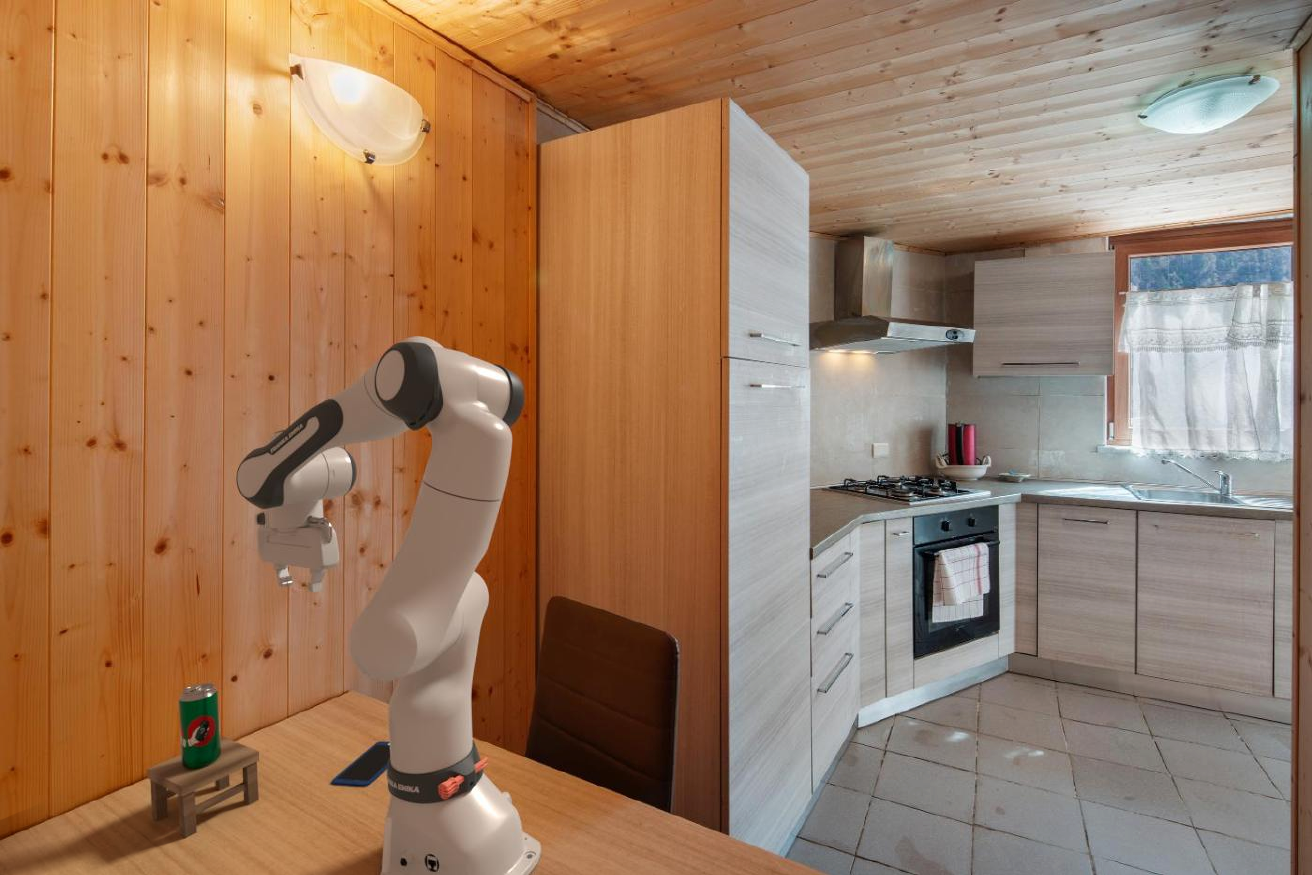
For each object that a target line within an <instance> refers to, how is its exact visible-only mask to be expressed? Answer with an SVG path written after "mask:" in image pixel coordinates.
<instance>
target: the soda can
mask: <svg viewBox="0 0 1312 875" xmlns="http://www.w3.org/2000/svg"><path fill="white" fill-rule="evenodd" d="M215 686H216V685H215V684H214V683H213V682H208V683H207V682H203V683H199V684H198V683H197V684H194V685H191V686H188V687H186V688H184V689H182V690H181V692H180V697H179V698H178V716H179V718H178V719H179V731H180V732H179V735H180V752H181V754H180V755H182V766H183V767H185V768H186V769H199V768H203V767H206V766H208V765H210V764H212V763H214V762H215V761H216V760H217V759H218V758H219V757H220V755H221V742H220V738H221V729H220V728H221V726H220V709H219V706H220V704H219V690H218V689H217V688H216V687H215Z"/></svg>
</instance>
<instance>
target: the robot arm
mask: <svg viewBox="0 0 1312 875" xmlns="http://www.w3.org/2000/svg"><path fill="white" fill-rule="evenodd" d="M524 388H525V387H524V385H523V383H522V380H521V378H520V377H519V376H518V375H517V374H516V373H514V372H513V371H512V370H510V369H508V368H506V367H504V366H503V365H501V364H496V363H495V364H493V363H490V362H488V361H485V360H483V359H481V358H477V357H476V356H475V357H474V356H471V355H469V354H467V353H465V352H463V351H460V350H455V349H450V348H446V347H444V346H443V345H442V344H440V343H439V342H438V341H436V340H435V339H431V338H429V337H426V336H419V335H417V336H416V335H415V336H411V337H408V338H405V339H403V340H402V341H400V342H397V343H393V345H392V344H391V346H389V348H388V349H387V350H386V351H385V352H384V353H383V354H382V355H381V357H379V358H378V359H377V360H376V361H375V362H374V363H373V364H372V365H371V366H370V367H369V368H368V370H366V372H365V373H364V374H363V375H361V376H360V377H359V378H358V379H357V380H356V381H354V382H352V383H351V384H350V385H349V386H347V387H346V388H344V389H343V390H342V391H340V392H338V393H336V394H334V395H333V396H331V397H330V398H327V399H326V400H324V401H321V402H320V403H318V404H316V405H315V406H313V407H311V408H309V409H308V410H307V411H306V412H305V413H303V414H302V415H301V416H300V417H298V419H296V420H295V421H294V422H293V423H291V424H290V425H289V426H288V427H286V428H285V429H282V430H278V431H276V432H274V433H272V434H271V435H270V437H269V439H268V444H266V445H265V446H261V447H258V448H255V449H253V450H252V451H250V452H249V453H248V454H247V455H246V456H245V457H244V458H243V459H242V461H241V462H240V464H239V466H238V467H237V471H236V478H235V481H236V487H237V491H238V492H239V494H240V495H241V497H243V498H244V499H245V500H246V501H247V502H249V503H251V504H252V505H253V506H255V507H257V508H258V509H261V510H262V511H259V512H257V513H256V514H255V515H254V523H255V525H256V526H258V528H257V530H256V539H257V549H258V555H259V557H260V559H261V562H263V563H268V564H273V570H274V572H275V575H276V577H277V580H278V583H277V584H278V586H279V587H283V588H287V587H291V586H292V585H293V577H292V575H290V572H289V569H288V568H289V567H290V566H291V567H297V568H303V569H309V573H310V575H311V577H310V581H308V582H307V590H308V592H310V593H317V592H318V593H319V592H321V591H322V589H323V580H324V576H325V574H326V570H327V569H333V568H336V567H337V566H338V565H339V563H340V550H339V543H338V537H337V533H336V530H335V529H334V527H333V524H331V523H330V522H329V519H328V518H327V517H324V504H323V503H324V502H323V500H331V499H336V498H340V497H342V496H346V495H348V494H349V492H350V491H351V490H352V489H353V487H354V485H355V483H356V480H357V475H358V474H357V473H358V472H357V471H358V470H357V464H356V461H355V459H354V457H353V456H352V455H351V453H350V452H349V451H348V450H346V449H345V448H344V447H342V446H346V445H352V444H359V443H361V444H362V443H368V442H375V441H378V442H379V441H384V440H388V439H389V440H390V439H393V438H396V437H398V436H401V435H403V434H404V433H405V432H408V431H409V430H411V431H419V430H420V429H422V428H423V427H425V426H426V428H427V429H428V431H429V433H430V436H431V440H432V443H431V444H432V445H431V451H430V453H429V454H430V455H429V458H428V460H427V464H426V467H425V471H424V473H423V477H422V480H421V484H420V487H419V491H418V494H417V498H416V502H415V504H414V507H413V511H412V515H411V518H410V522H409V525H408V528H407V531H406V533H405V536H404V537H403V540H402V542H401V545H400V546H399V549H398V550H397V552H396V554H395V555H394V558H393V560H392V561H391V564H390V566H389V567H388V569H387V571H386V572H385V575H384V577H383V578H382V580H381V582H380V584H379V586H378V589H377V590H376V592H375V594H374V595H373V597H372V599H371V600H370V601H369V603H368V604H367V606H365V607H364V609H363V610H362V612H361V613H360V614H359V615H358V616H357V617H356V619H355V620H354V621H353V623H352V625H351V628H350V630H349V632H348V633H349V634H348V640H347V642H348V645H347V646H348V651H349V654H350V657H351V660H352V662H353V663H354V666H356V668H357V669H358V670H359V671H360V672H361V673H362V674H364V676H367V677H368V678H370V679H372V680H375V681H378V682H392V681H396V680H397V684H396V687H395V688H394V690H393V693H392V694H391V697H390V700H389V703H388V710H387V711H388V712H387V713H388V734H389V735H388V736H389V740H388V741H389V742H390V757H389V759H388V763H387V770H386V780H387V790H388V792H389V793H390V797H389V798H390V799H389V802H388V809H387V812H386V816H385V821H384V830H383V843H382V844H383V845H382V859H381V871H380V874H379V875H530V874H531V873H532V871H533V870H534V869H535V867H536V866H537V864H538V862H539V859H540V857H541V854H542V847H541V842H540V841H539V840H537V839H535V838H534V837H532V836H530V834H528V833H526V832H525V831H523V826H522V821H521V818H520V813H519V812H518V809H517V808H516V807H515V806H514V805H513V799H512V797H511V794H510V793H509V792H508V791H502V792H501V790H500V789H498V787H497V786H496V785H495V784H494V783H493V782H492V781H491V780H490V779H489V777H488V776H487V775H486V774H485V773H484V768H485V767H487V766H488V765H489V763H488V762H486V761H487V760H488V759H489V758H488V757H487V756H486V757H484V758H482V759H481V757H480V753H479V749H478V748H477V746H476V742H475V741H474V739H473V717H472V716H473V715H472V714H473V713H472V711H473V710H472V689H473V678H474V671H475V665H476V658H477V654H478V645H479V640H480V633H481V628H482V623H483V620H484V617H485V614H486V612H487V610H488V607H489V601H490V595H489V589H488V586H487V584H486V582H485V580H484V579H483V577H481V575H480V574H479V573H477V572H476V569H477V567H478V566H479V564H480V562H481V561H482V559H483V558H484V556H485V555H486V554H487V551H488V549H489V546H490V543H491V539H492V535H493V532H494V529H495V525H496V522H497V518H498V515H499V511H500V507H501V504H502V501H503V499H504V494H505V490H506V487H507V481H508V477H509V471H510V466H511V458H512V450H513V434H512V431H511V429H510V428H511V427H513V426H514V425H515V424H516V423H517V421H518V420H519V419H520V416H521V415H522V412H523V410H524V405H525V399H526V398H525V389H524ZM485 762H486V763H485Z"/></svg>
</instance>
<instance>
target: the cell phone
mask: <svg viewBox="0 0 1312 875" xmlns="http://www.w3.org/2000/svg"><path fill="white" fill-rule="evenodd" d="M389 757H390V741H385V740H383V741H377V742H375V743H374V744H372V746H371V747H369V748H368V749H367V750H365V751H364V752H363V753H362V754H361V755H360V756H359V757H358V758H356V759H355V760H354V761H352V762H351V764H349V765H348V766H347V767H345V768H344V769H343V770H341V772H339V773H338V774H337V775H336V776H335V777H334V778H333V779H332V780H331V782H330V785H333V786H342V787H358V788H359V787H360V788H367V787H369V786H370V785H372V784H373V783H374V782H375V781H376V780H377V779H379V777H380V776H382V775H383V774H384V773H385V772H387V763H388V759H389Z"/></svg>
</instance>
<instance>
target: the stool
mask: <svg viewBox="0 0 1312 875" xmlns="http://www.w3.org/2000/svg"><path fill="white" fill-rule="evenodd" d="M220 742H221V755H220V757H219V758H218V759H217V760H216V761H215V762H214V763H212V764H210V765H208V766H206V767H203V768H199V769H186V768H185V767H183V766H182V755H181V754H180V755H176V756H175V757H172V758H169V759H167V760H164V761H162V762H160V763H158V764H156V765H153V766H150V767H148V768H147V769H146V773H147V774H146V775H147V776H146V777H147V779H148V780H149V781H150V797H151V816H152V819H153V820H155V821H156V822H157V821H160V820H162V819H163V818H166V817H168V816H169V809H168V808H169V807H168V806H169V805H168V799H170V798H172V797H175V796H177V795H178V797H177V798H178V813H179V815H178V816H179V817H178V818H179V832H180V836H181V837H183V838H184V839H185V838H188V837H189V836H190V837H191V836H192V835H193V834H195V833H197V831H198V830H197V828H198V827H197V815H198V814H200V813H202V812H204V811H206V810H208V809H210V808H211V807H214V806H216V805H218V804H220V803H222V802H224V801H226V800H228V799H230V798H232V797H234V796H236V795H238V794H240V793H242V792H243V803H245V804H247V805H251V804H253V803H254V802H256V801H258V800H259V797H260V796H259V781H258V780H259V779H258V778H259V777H258V762H259V761H260V754H259V753H260V752H259V750H256V749H253V748H252V747H249V746H246V745H244V744H242V743H239V742H238V741H234V740H232V739H231V738H227V737H224V736H222V737H220ZM240 770H242V771H241V772H242V782H239V784H237V785H235V786H232V787H230V775H231V774H233V773H235V772H238V771H240ZM212 783H214V785H215V786H214V787H215V789H217V790H219V791H222V790H223V789H226V788H227V787H230V788H228V789H226V790H224V791H222V792H220V793H218V794H216V795H213V796H212V797H210V798H208V799H205V800H203V801H201V802H200V803H198V804H196V794H195V792H196V791H197V790H199V789H202V788H203V787H206V786H208V785H210V784H212Z"/></svg>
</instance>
